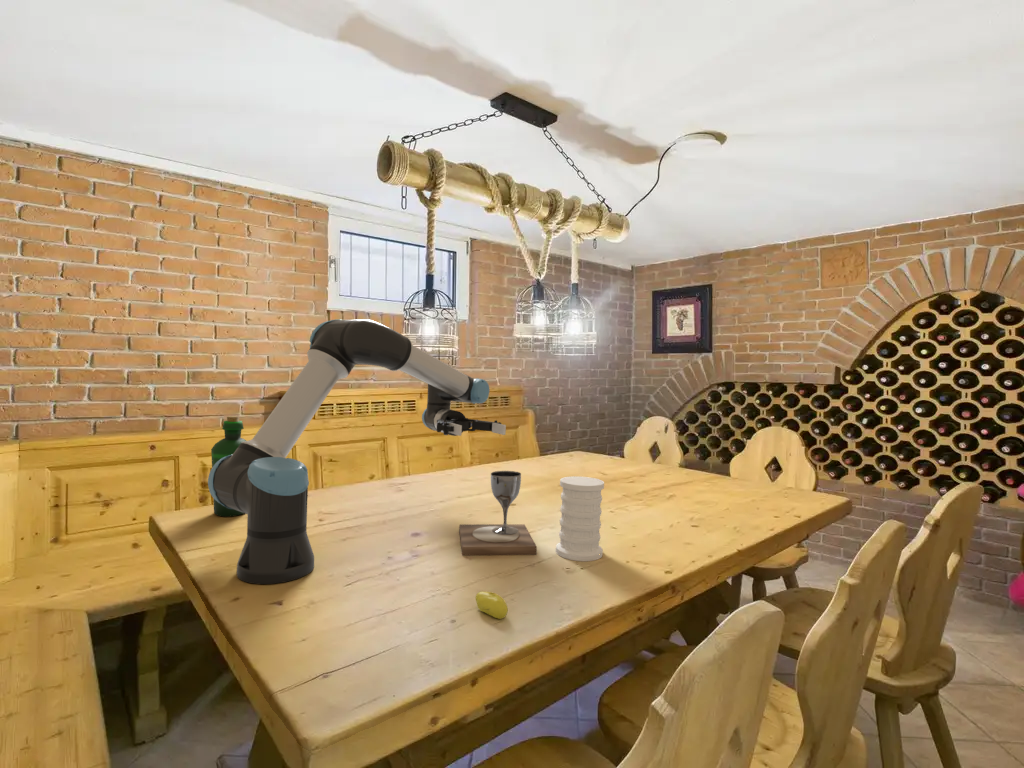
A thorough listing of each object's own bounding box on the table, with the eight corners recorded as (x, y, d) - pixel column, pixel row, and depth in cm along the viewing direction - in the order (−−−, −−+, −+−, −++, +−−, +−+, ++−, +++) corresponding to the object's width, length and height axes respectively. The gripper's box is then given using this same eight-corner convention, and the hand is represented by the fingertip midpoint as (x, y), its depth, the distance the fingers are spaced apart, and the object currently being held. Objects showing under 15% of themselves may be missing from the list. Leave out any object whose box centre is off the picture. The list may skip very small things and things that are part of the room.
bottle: (239, 519, 149) (241, 419, 148) (201, 517, 149) (203, 417, 148) (258, 509, 160) (260, 415, 159) (223, 507, 160) (225, 414, 159)
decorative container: (599, 564, 126) (602, 488, 125) (551, 557, 129) (554, 483, 128) (605, 548, 137) (608, 478, 136) (560, 542, 140) (563, 474, 139)
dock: (536, 554, 130) (536, 544, 130) (462, 555, 128) (462, 545, 128) (524, 531, 148) (524, 522, 148) (459, 531, 146) (459, 523, 146)
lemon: (494, 625, 94) (495, 603, 94) (469, 608, 101) (470, 587, 100) (513, 619, 97) (514, 598, 97) (488, 602, 103) (488, 582, 103)
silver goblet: (489, 526, 144) (490, 470, 144) (518, 526, 145) (519, 470, 144) (490, 535, 136) (491, 476, 136) (521, 534, 137) (522, 476, 136)
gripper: (485, 433, 170) (521, 442, 152) (411, 435, 157) (439, 445, 139) (487, 410, 170) (522, 416, 152) (412, 409, 157) (441, 416, 139)
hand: (483, 430), depth 146 cm, fingers open, 13 cm apart
